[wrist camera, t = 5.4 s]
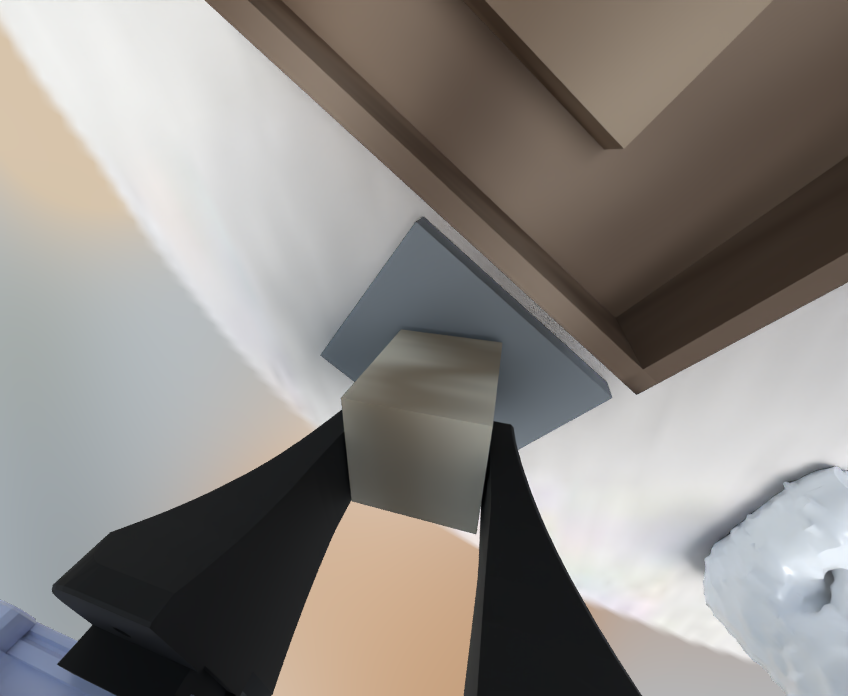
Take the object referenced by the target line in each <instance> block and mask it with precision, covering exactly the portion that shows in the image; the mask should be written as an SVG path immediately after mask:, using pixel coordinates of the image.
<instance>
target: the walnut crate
mask: <svg viewBox="0 0 848 696" xmlns="http://www.w3.org/2000/svg"><path fill="white" fill-rule="evenodd" d="M205 1H206V2H207V3H208V4H209V5H210V6H211V7H212V8H214V9H215V10H216V11H217V12H218V13H219V14H220V15H221V16H222V17H223V18H225V19H226V20H227V21H228V22H229V23H230V24H231V25H232V26H233V27H234V28H235V29H237V30H238V31H239V32H240V33H241V34H242V35H243V36H244V37H245V38H246V39H248V40H249V41H250V42H251V43H252V44H253V45H254V46H255V47H256V48H257V49H258V50H260V51H261V52H262V53H263V54H264V55H265V56H266V57H267V58H268V59H269V60H270V61H272V62H273V63H274V64H275V65H276V66H277V67H278V68H279V69H280V70H281V71H283V72H284V73H285V74H286V75H287V76H288V77H289V78H290V79H291V80H292V81H293V82H295V83H296V84H297V85H298V86H299V87H300V88H301V89H302V90H303V91H304V92H306V93H307V94H308V95H309V96H310V97H311V98H312V99H313V100H314V101H315V102H316V103H318V104H319V105H320V106H321V107H322V108H323V109H324V110H325V111H326V112H327V113H329V114H330V115H331V116H332V117H333V118H334V119H335V120H336V121H337V122H338V123H339V124H341V125H342V126H343V127H344V128H345V129H346V130H347V131H348V132H349V133H350V134H351V135H353V136H354V137H355V138H356V139H357V140H358V141H359V142H360V143H361V144H362V145H364V146H365V147H366V148H367V149H368V150H369V151H370V152H371V153H372V154H373V155H374V156H376V157H377V158H378V159H379V160H380V161H381V162H382V163H383V164H384V165H385V166H387V167H388V168H389V169H390V170H391V171H392V172H393V173H394V174H395V175H396V176H397V177H399V178H400V179H401V180H402V181H403V182H404V183H405V184H406V185H407V186H408V187H410V188H411V189H412V190H413V191H414V192H415V193H416V194H417V195H418V196H419V197H420V198H422V199H423V200H424V201H425V202H426V203H427V204H428V205H429V206H430V207H431V208H432V209H434V210H435V211H436V212H437V213H438V214H439V215H440V216H441V217H442V218H443V219H445V220H446V221H447V222H448V223H449V224H450V225H451V226H452V227H453V228H454V229H455V230H457V231H458V232H459V233H460V234H461V235H462V236H463V237H464V238H465V239H466V240H468V241H469V242H470V243H471V244H472V245H473V246H474V247H475V248H476V249H477V250H478V251H480V252H481V253H482V254H483V255H484V256H485V257H486V258H487V259H488V260H489V261H491V262H492V263H493V264H494V265H495V266H496V267H497V268H498V269H499V270H500V271H501V272H503V273H504V274H505V275H506V276H507V277H508V278H509V279H510V280H511V281H512V282H513V283H515V284H516V285H517V286H518V287H519V288H520V289H521V290H522V291H523V292H524V293H526V294H527V295H528V296H529V297H530V298H531V299H532V300H533V301H534V302H535V303H536V304H538V305H539V306H540V307H541V308H542V309H543V310H544V311H545V312H546V313H547V314H549V315H550V316H551V317H552V318H553V319H554V320H555V321H556V322H557V323H558V324H559V325H561V326H562V327H563V328H564V329H565V330H566V331H567V332H568V333H569V334H570V335H572V336H573V337H574V338H575V339H576V340H577V341H578V342H579V343H580V344H581V345H582V346H584V347H585V348H586V349H587V350H588V351H589V352H590V353H591V354H592V355H593V356H594V357H596V358H597V359H598V360H599V361H600V362H601V363H602V364H603V365H604V366H605V367H607V368H608V369H609V370H610V371H611V372H612V373H613V374H614V375H615V376H616V377H617V378H619V379H620V380H621V381H622V382H623V383H624V384H625V385H626V386H627V387H628V388H630V389H631V390H632V391H633V392H634V393H635V394H636V395H637V394H639V393H641V392H643V391H645V390H647V389H649V388H650V387H652V386H654V385H656V384H658V383H660V382H662V381H664V380H665V379H667V378H669V377H671V376H673V375H675V374H677V373H679V372H680V371H682V370H684V369H686V368H688V367H690V366H692V365H694V364H695V363H697V362H699V361H701V360H703V359H705V358H707V357H709V356H710V355H712V354H714V353H716V352H718V351H720V350H722V349H724V348H725V347H727V346H729V345H731V344H733V343H735V342H737V341H739V340H740V339H742V338H744V337H746V336H748V335H750V334H752V333H754V332H755V331H757V330H759V329H761V328H763V327H765V326H767V325H769V324H770V323H772V322H774V321H776V320H778V319H780V318H782V317H784V316H785V315H787V314H789V313H791V312H793V311H795V310H797V309H799V308H800V307H802V306H804V305H806V304H808V303H810V302H812V301H814V300H815V299H817V298H819V297H821V296H823V295H825V294H827V293H829V292H830V291H832V290H834V289H836V288H838V287H840V286H842V285H844V284H845V283H847V282H848V0H205Z"/></svg>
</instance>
